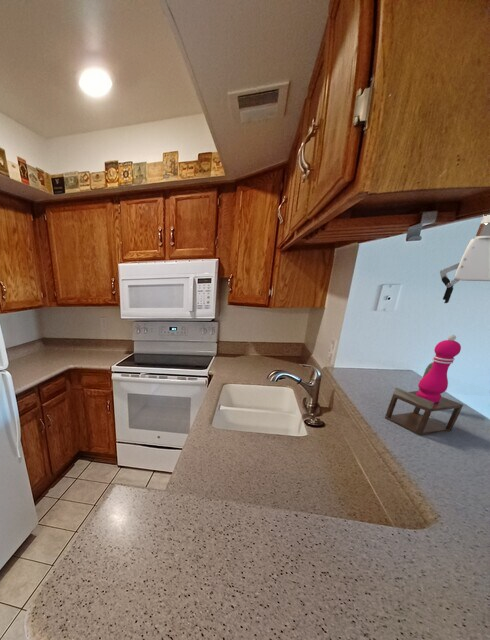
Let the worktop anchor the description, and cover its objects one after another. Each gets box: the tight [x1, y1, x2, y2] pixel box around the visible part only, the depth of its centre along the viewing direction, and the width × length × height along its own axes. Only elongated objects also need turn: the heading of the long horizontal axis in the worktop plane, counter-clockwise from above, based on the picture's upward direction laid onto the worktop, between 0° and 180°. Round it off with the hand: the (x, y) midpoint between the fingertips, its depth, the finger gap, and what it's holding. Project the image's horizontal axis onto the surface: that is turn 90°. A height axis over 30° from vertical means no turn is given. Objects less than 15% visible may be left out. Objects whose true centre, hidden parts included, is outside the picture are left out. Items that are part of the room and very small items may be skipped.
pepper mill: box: [416, 334, 462, 403], centre depth 100 cm, size 7×7×20 cm
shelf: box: [384, 387, 464, 436], centre depth 106 cm, size 13×13×11 cm
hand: (467, 303), depth 91 cm, fingers open, 9 cm apart
